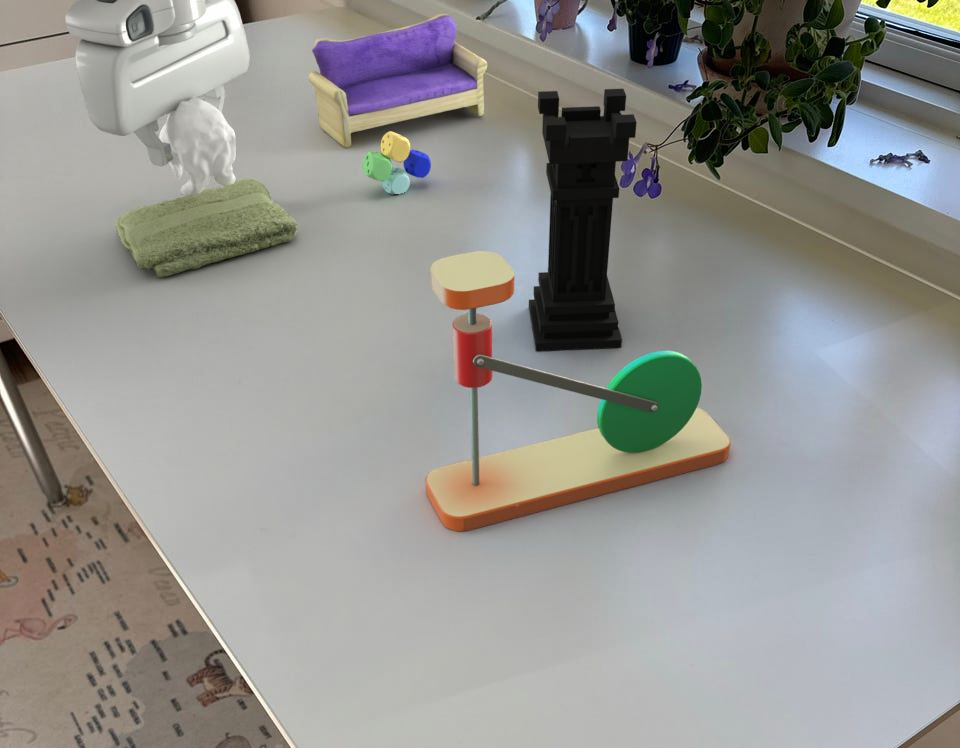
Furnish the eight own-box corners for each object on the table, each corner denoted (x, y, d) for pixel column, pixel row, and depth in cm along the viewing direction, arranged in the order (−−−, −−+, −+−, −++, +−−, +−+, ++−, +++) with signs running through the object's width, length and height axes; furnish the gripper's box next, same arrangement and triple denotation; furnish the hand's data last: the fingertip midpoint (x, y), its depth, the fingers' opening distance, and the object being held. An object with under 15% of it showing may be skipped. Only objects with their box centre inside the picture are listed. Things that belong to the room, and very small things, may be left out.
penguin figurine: (169, 114, 98) (127, 88, 105) (193, 206, 103) (151, 176, 111) (231, 99, 100) (186, 75, 108) (251, 190, 106) (206, 161, 113)
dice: (423, 177, 123) (420, 120, 118) (434, 185, 121) (431, 128, 117) (362, 193, 120) (356, 136, 115) (372, 201, 119) (367, 144, 114)
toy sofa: (340, 151, 128) (330, 61, 121) (313, 127, 134) (302, 39, 126) (489, 117, 135) (488, 29, 127) (458, 95, 140) (455, 10, 133)
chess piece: (535, 351, 97) (541, 127, 82) (528, 307, 102) (533, 90, 88) (621, 347, 97) (642, 123, 82) (609, 303, 102) (627, 86, 88)
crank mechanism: (448, 535, 79) (437, 304, 65) (421, 484, 84) (404, 257, 69) (735, 459, 85) (781, 232, 71) (695, 415, 89) (732, 193, 75)
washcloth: (111, 234, 114) (103, 205, 112) (264, 198, 120) (259, 170, 117) (144, 286, 106) (136, 256, 104) (305, 245, 112) (301, 216, 109)
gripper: (199, -40, 103) (227, 107, 113) (50, 22, 91) (95, 180, 101) (250, -32, 101) (274, 117, 111) (104, 32, 89) (145, 193, 99)
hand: (188, 148), depth 106 cm, fingers closed on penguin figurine, 6 cm apart
